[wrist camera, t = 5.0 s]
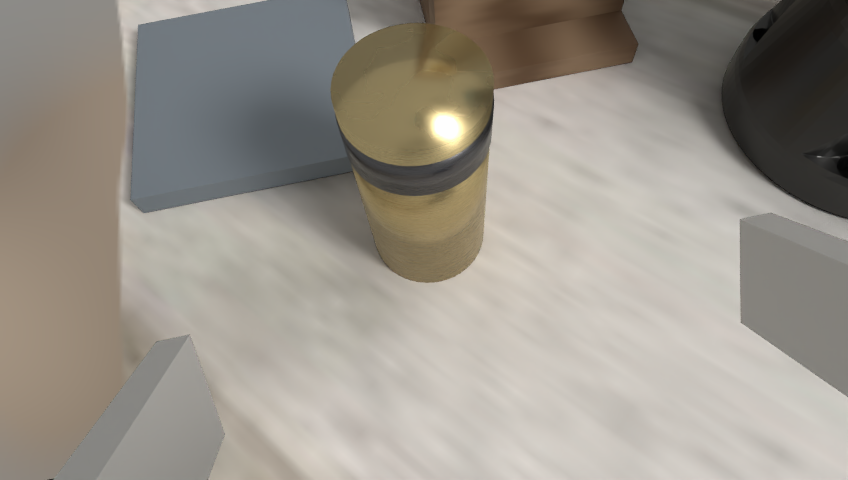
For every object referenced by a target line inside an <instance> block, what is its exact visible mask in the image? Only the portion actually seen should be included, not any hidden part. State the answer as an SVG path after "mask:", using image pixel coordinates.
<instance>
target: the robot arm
mask: <svg viewBox="0 0 848 480" xmlns="http://www.w3.org/2000/svg"><path fill="white" fill-rule="evenodd" d="M722 102H723V109H724V113H725V117H726V120H727V123H728V125H729V128H730V130H731V132H732V134H733V136H734V138H735V139H736V141H737V142H738V144H739V146H740V147H741V148H742V150H743V151H744V152H745V154H746V155H747V156H748V157H749V159H750V160H751V161H752V162H753V163H754V164H755V165H756V166H757V167H758V168H759V169H760V170H761V171H762V172H763V173H764V174H765V175H767V176H768V177H769V178H770V179H771V180H773V181H774V182H775V183H777V184H778V185H779V186H781V187H782V188H784V189H785V190H787V191H788V192H790V193H791V194H793V195H795V196H796V197H798V198H800V199H802V200H804V201H806V202H808V203H810V204H812V205H814V206H816V207H818V208H821V209H823V210H825V211H828V212H831V213H833V214H836V215H839V216H843V217H846V218H848V0H782V1H780V2H779V3H778V4H777V5H776V6H775V7H774V8H773V9H771V10H770V11H769V12H767V13H766V14H765V15H764V16H763V17H762V18H761V19H760V20H759V21H758V22H757V23H756V24H755V25H754V26H753V27H752V28H751V30H750V31H749V32H748V33H747V35H746V36H745V38H744V39H743V41H742V43H741V45H740V46H739V48H738V50H737V51H736V53H735V55H734V57H733V58H732V60H731V62H730V64H729V65H728V68H727V70H726V73H725V76H724V80H723V86H722ZM740 294H741V323H742V324H744V325H745V326H747V327H748V328H749V329H751V330H752V331H754V332H755V333H757V334H758V335H759V336H761V337H762V338H764V339H765V340H767V341H768V342H770V343H771V344H772V345H774V346H775V347H777V348H778V349H780V350H781V351H782V352H784V353H785V354H787V355H788V356H790V357H791V358H792V359H794V360H795V361H797V362H798V363H800V364H801V365H803V366H804V367H805V368H807V369H808V370H810V371H811V372H813V373H814V374H815V375H817V376H818V377H820V378H821V379H823V380H824V381H826V382H827V383H828V384H830V385H831V386H833V387H834V388H836V389H837V390H838V391H840V392H841V393H843V394H844V395H846V396H847V397H848V241H845V240H842V239H839V238H837V237H834V236H831V235H829V234H826V233H823V232H821V231H818V230H815V229H813V228H810V227H807V226H805V225H802V224H799V223H797V222H794V221H791V220H789V219H786V218H783V217H781V216H778V215H775V214H773V213H767V214H763V215H758V216H753V217H748V218H744V219H740ZM224 435H225V433H224V430H223V427H222V424H221V421H220V419H219V416H218V413H217V410H216V407H215V404H214V402H213V399H212V396H211V393H210V390H209V387H208V384H207V382H206V379H205V376H204V373H203V370H202V367H201V365H200V362H199V359H198V356H197V353H196V350H195V347H194V345H193V342H192V339H191V336H190V335H185V336H181V337H176V338H171V339H166V340H162V341H157V342H156V343H155V344H154V346H153V347H152V348H151V350H150V351H149V352H148V354H147V355H146V356H145V358H144V359H143V360H142V362H141V363H140V364H139V366H138V367H137V368H136V370H135V371H134V372H133V374H132V375H131V376H130V378H129V379H128V380H127V382H126V383H125V384H124V386H123V387H122V388H121V390H120V391H119V393H118V394H117V395H116V397H115V398H114V399H113V401H112V402H111V403H110V405H109V406H108V407H107V409H106V410H105V411H104V413H103V414H102V415H101V417H100V418H99V419H98V421H97V422H96V423H95V425H94V426H93V427H92V429H91V430H90V431H89V433H88V434H87V435H86V437H85V438H84V439H83V441H82V442H81V443H80V445H79V446H78V447H77V449H76V450H75V451H74V453H73V454H72V455H71V457H70V458H69V459H68V461H67V462H66V464H65V465H64V466H63V468H62V469H61V470H60V471H59V473H58V474H57V475H56V477H55V478H54V479H49V480H208V478H209V475H210V472H211V470H212V467H213V464H214V462H215V459H216V456H217V454H218V451H219V449H220V446H221V443H222V441H223V438H224Z"/></svg>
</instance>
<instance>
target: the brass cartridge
mask: <svg viewBox="0 0 848 480" xmlns="http://www.w3.org/2000/svg"><path fill="white" fill-rule="evenodd" d="M330 91H331V100H332V104H333V108H334V111H335V117H336V121H337V125H338V128H339V132H340V135H341V138H342V141H343V144H344V147H345V151H346V154H347V156H348V159H349V161H350V163H351V166H352V169H353V172H354V175H355V179H356V182H357V185H358V188H359V192H360V195H361V198H362V201H363V204H364V208H365V211H366V214H367V217H368V221H369V224H370V227H371V230H372V234H373V237H374V240H375V243H376V246H377V250H378V252H379V254H380V256H381V258H382V260H383V261H384V262H385V264H386V265H387V266H388V267H389V268H390V269H391V270H392V271H394V272H395V273H397V274H398V275H400V276H402V277H404V278H406V279H409V280H412V281H417V282H425V283H428V282H439V281H443V280H447V279H449V278H452V277H454V276H456V275H458V274H460V273H461V272H462V271H464V270H465V269H466V268H467V267H468V266H469V265H470V264H471V263H472V262H473V261H474V260H475V258H476V256H477V255H478V253H479V251H480V248H481V245H482V241H483V231H484V217H485V203H486V189H487V175H488V161H489V147H490V143H491V135H492V123H493V109H494V93H493V91H494V75H493V71H492V67H491V64H490V62H489V60H488V58H487V56H486V55H485V53H484V52H483V51H482V49H481V48H480V47H479V46H478V45H477V44H476V43H475V42H473V41H472V40H471V39H470V38H468V37H467V36H465V35H463V34H461V33H460V32H458V31H456V30H453V29H450V28H447V27H444V26H440V25H435V24H428V23H407V24H400V25H395V26H391V27H387V28H384V29H381V30H378V31H376V32H374V33H372V34H369V35H368V36H366V37H364V38H363V39H361V40H360V41H358V42H357V43H356V44H354V45H353V46H352V47H351V48H350V49H349V50H348V51H347V52H346V53H345V54H344V56H343V57H342V58H341V60H340V61H339V63H338V64H337V66H336V68H335V71H334V73H333V77H332V80H331V89H330Z"/></svg>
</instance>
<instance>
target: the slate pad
mask: <svg viewBox="0 0 848 480" xmlns="http://www.w3.org/2000/svg"><path fill="white" fill-rule="evenodd" d="M354 44H355V40H354V35H353V30H352V25H351V20H350V15H349V10H348V5H347V0H267V1H262V2H257V3H252V4H246V5H241V6H236V7H230V8H225V9H220V10H214V11H209V12H204V13H199V14H193V15H188V16H183V17H177V18H172V19H167V20H162V21H156V22H151V23H146V24H140V25H138V43H137V66H136V88H135V111H134V133H133V156H132V179H131V201H132V202H133V203H134V204H135V205H136V206H137V207H138V208H139V209H140V210H141V211H142V212H143V213H147V212H152V211H157V210H162V209H167V208H172V207H177V206H182V205H187V204H192V203H197V202H202V201H207V200H212V199H217V198H222V197H227V196H232V195H237V194H242V193H247V192H252V191H257V190H262V189H267V188H272V187H277V186H282V185H287V184H292V183H297V182H302V181H307V180H312V179H317V178H322V177H327V176H332V175H337V174H342V173H347V172H352V171H353V169H352V166H351V163H350V161H349V159H348V156H347V154H346V151H345V147H344V144H343V141H342V138H341V135H340V132H339V128H338V125H337V121H336V117H335V111H334V108H333V104H332V100H331V91H330V89H331V80H332V77H333V73H334V71H335V68H336V66H337V64H338V63H339V61H340V60H341V58H342V57H343V56H344V54H345V53H346V52H347V51H348V50H349V49H350V48H351V47H352V46H353V45H354Z"/></svg>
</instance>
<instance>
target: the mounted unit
mask: <svg viewBox="0 0 848 480" xmlns="http://www.w3.org/2000/svg"><path fill="white" fill-rule="evenodd" d="M623 3H624V0H420V4H421V7H422V11H423V14H424V18H425V21H426V23H428V24H435V25H440V26H444V27H447V28H450V29H453V30H456V31H458V32H460V33H461V34H463V35H465V36H467V37H468V38H470V39H471V40H472V41H473V42H475V43H476V44H477V45H478V46H479V47H480V48H481V49H482V51H483V52H484V53H485V55H486V56H487V58H488V60H489V62H490V64H491V67H492V71H493V75H494V89H498V88H503V87H508V86H513V85H518V84H523V83H528V82H533V81H538V80H544V79H549V78H554V77H559V76H564V75H569V74H574V73H579V72H584V71H589V70H594V69H599V68H604V67H610V66H615V65H620V64H625V63H630V62H632V61H633V58H634V55H635V52H636V50H637V47H638V42H637V40H636V38H635V36H634V35H633V33H632V31H631V29H630V27H629V25H628V23H627V21H626V19H625V17H624V15H623V13H622V11H621V10H622V6H623Z"/></svg>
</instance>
